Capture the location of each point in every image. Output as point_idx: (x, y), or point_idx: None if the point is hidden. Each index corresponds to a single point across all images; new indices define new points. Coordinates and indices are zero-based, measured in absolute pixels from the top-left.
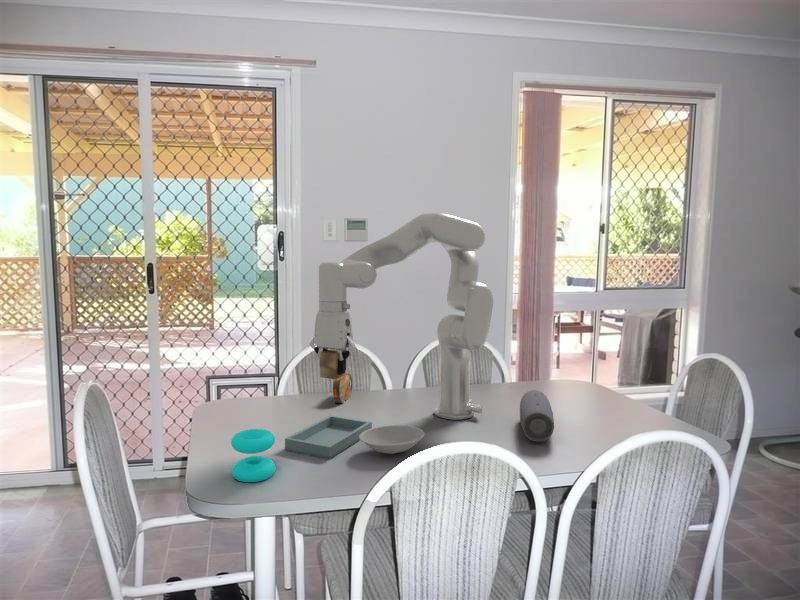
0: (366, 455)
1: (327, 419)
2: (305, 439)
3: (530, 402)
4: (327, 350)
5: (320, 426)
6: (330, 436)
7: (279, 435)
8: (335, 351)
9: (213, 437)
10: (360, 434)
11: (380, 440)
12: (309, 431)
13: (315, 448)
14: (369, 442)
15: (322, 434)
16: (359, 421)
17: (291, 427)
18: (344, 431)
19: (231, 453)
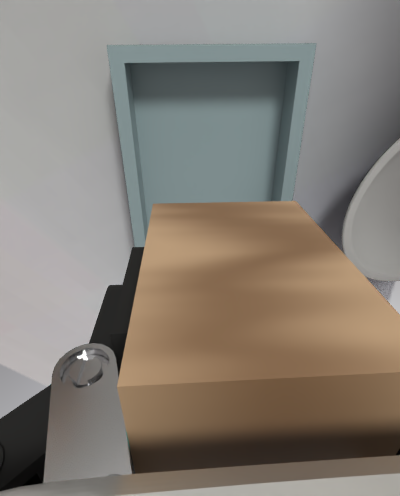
0: (341, 224)
1: (128, 96)
2: (148, 223)
3: None
4: (159, 458)
5: (136, 147)
6: (197, 171)
7: (49, 216)
8: (304, 449)
9: None
10: (344, 242)
11: (379, 174)
12: (143, 210)
13: None
14: (384, 277)
15: (164, 167)
16: (263, 61)
17: (14, 140)
18: (213, 106)
19: (61, 339)
